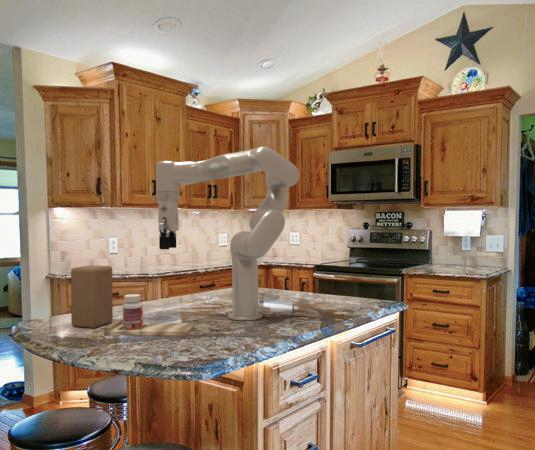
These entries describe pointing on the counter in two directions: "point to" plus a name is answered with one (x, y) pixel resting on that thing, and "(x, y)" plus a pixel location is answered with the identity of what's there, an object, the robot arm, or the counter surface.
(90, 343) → the counter surface
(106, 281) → the wooden block
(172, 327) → the board
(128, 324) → the pill bottle
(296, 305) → the counter surface
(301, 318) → the counter surface
